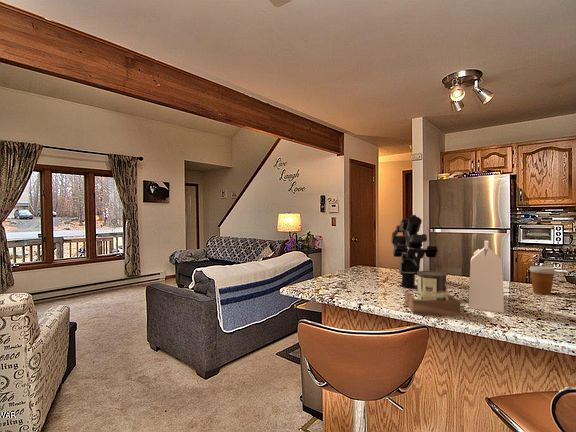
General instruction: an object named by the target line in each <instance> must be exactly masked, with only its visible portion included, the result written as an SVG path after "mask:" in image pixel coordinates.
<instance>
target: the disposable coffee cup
mask: <svg viewBox="0 0 576 432" xmlns="http://www.w3.org/2000/svg"><path fill="white" fill-rule="evenodd" d="M528 270H529V272H530V279H531V285H532V286H531V287H532V291H533V293H534V294H537V295H542V296H550V295H551V294H552V288H553V284H554V283H553V282H554V276H555V273H557V272H556V270H555V267H551V266H545V265H530V267H529V268H528Z"/></svg>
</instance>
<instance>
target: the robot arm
mask: <svg viewBox="0 0 576 432" xmlns="http://www.w3.org/2000/svg"><path fill="white" fill-rule="evenodd" d="M421 225H422V219H421V218H420V217H419V216H417V215H416V214H411V216H410V217H409V218H402V219H401V221H400V223H399V225H396V227H395V230H394V231H393V232H392V233H391V241H390V242H391V244H392V246H393V250H392V251H393V252H392V254H393V257H395V258H400V259H401V260H400V263H399V268H398V274H400V276H401V284H399V285H398V286H400V287H404V288H407V289H414V288H418V284H416V276H418V274H417V272H419V271H420V267H421V265H420V264H421V259H424V256H425V257H427V258H436V257H437V254H438V252H439V248H438V246H436V245H427V247H426V248H423V243H426V242H427V241H428V236H427V234H426V233H425V234H424V233H422V234H418V233H419V232H420V228H421ZM398 233H403V234H404V235H398Z"/></svg>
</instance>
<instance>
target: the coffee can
mask: <svg viewBox="0 0 576 432" xmlns="http://www.w3.org/2000/svg"><path fill="white" fill-rule="evenodd" d="M417 274H418V275H417V285H418V286H417V299H419V300H446V292H447V277H448V276H447V273H446V272H441V271H437V270H419V272H417Z"/></svg>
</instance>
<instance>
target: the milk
mask: <svg viewBox="0 0 576 432" xmlns="http://www.w3.org/2000/svg"><path fill="white" fill-rule="evenodd" d="M483 245H484V246H483V248H481V249H479V248H477V250H475V251H474V252H473V255H472V257H471V258H470V267H469V270H470V271H469V292H468V309H471V308H473V310H478V309H479V311H486V312H491V313H492V312H494V313H501V314H505V307H504V306H505V302H504V301H505V300H504V299H505V298H504V277H503V275H504V274H503V260H502V258H501V257H500V256H499V255H498V254H496V253H495V252H494V251H493V250H492V249H491V248H490V247H489V240H484V244H483Z"/></svg>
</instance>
